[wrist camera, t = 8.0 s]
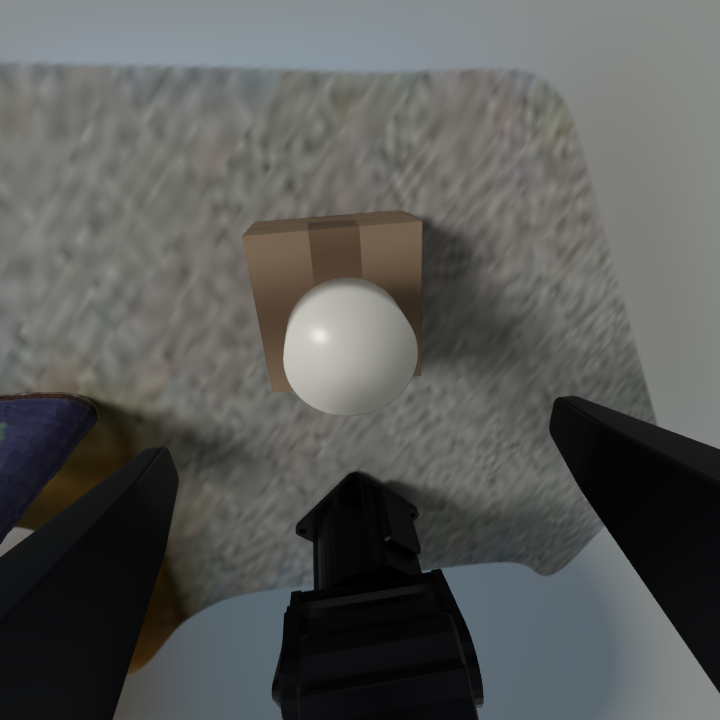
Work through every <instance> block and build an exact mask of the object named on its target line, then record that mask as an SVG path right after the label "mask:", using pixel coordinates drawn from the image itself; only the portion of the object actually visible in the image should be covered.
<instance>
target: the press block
mask: <svg viewBox="0 0 720 720" xmlns="http://www.w3.org/2000/svg"><path fill="white" fill-rule="evenodd" d="M242 238H243V244H244V249H245V254H246V259H247V264H248V269H249V274H250V279H251V285H252V290H253V295H254V300H255V305H256V310H257V315H258V320H259V326H260V331H261V336H262V341H263V346H264V351H265V356H266V362H267V367H268V372H269V377H270V382H271V387H272V392H281V391H290V390H293V388H292V387H291V385H290V383H289V381H288V379H287V376H286V373H285V369H284V362H283V356H284V345H285V338H286V330H287V324H288V320H289V317H290V314H291V312H292V310H293V308H294V306H295V305H296V303H297V302H298V301H299V299H300V298H301V297H302V296H303V295H304V294H305V293H307V292H308V291H309V290H310V289H312V288H313V287H315V286H317V285H319V284H321V283H323V282H325V281H329V280H332V279H337V278H358V279H362V280H366V281H369V282H371V283H374V284H376V285H377V286H379V287H381V288H382V289H384V290H385V291H386V292H387V293H388V294H389V295H390V296H391V297H392V298H393V299H394V301H395V302H396V303H397V305H398V306H399V308H400V310H401V311H402V313H403V314H404V316H405V317H406V319H407V321H408V322H409V324H410V326H411V327H412V329H413V332H414V334H415V337H416V341H417V348H418V356H417V364H416V368H415V371H414V374H413V376H420V375H421V294H422V221H421V220H419V219H417V218H415V217H413V216H411V215H409V214H407V213H405V212H403V211H401V210H399V211H386V212H374V213H362V214H349V215H337V216H325V217H312V218H300V219H287V220H275V221H263V222H255V223H254V224H253V225H252V226H251V227H250V228H249V229H248V230H247V231H246V232H245V233H244V234H243V236H242Z"/></svg>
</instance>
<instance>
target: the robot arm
mask: <svg viewBox="0 0 720 720" xmlns="http://www.w3.org/2000/svg"><path fill="white" fill-rule="evenodd" d="M549 430H550V434H551V436H552V438H553V440H554V442H555V444H556V446H557V447H558V449H559V451H560V453H561V455H562V457H563V458H564V460H565V462H566V464H567V466H568V468H569V470H570V471H571V473H572V475H573V477H574V479H575V481H576V482H577V484H578V486H579V487H580V489H581V491H582V492H583V494H584V495H585V497H586V498H587V500H588V501H589V503H590V504H591V506H592V507H593V509H594V510H595V512H596V513H597V515H598V516H599V518H600V519H601V520H602V522H603V523H604V525H605V526H606V528H607V529H608V531H609V532H610V534H611V535H612V537H613V538H614V539H615V541H616V542H617V544H618V545H619V547H620V548H621V550H622V551H623V552H624V554H625V556H626V557H627V559H628V560H629V561H630V563H631V564H632V566H633V567H634V569H635V570H636V572H637V573H638V575H639V576H640V577H641V579H642V580H643V582H644V583H645V585H646V586H647V588H648V589H649V591H650V592H651V594H652V595H653V597H654V598H655V599H656V601H657V602H658V604H659V605H660V607H661V608H662V610H663V611H664V613H665V614H666V615H667V617H668V618H669V620H670V621H671V623H672V624H673V626H674V627H675V629H676V630H677V632H678V633H679V635H680V636H681V638H682V639H683V640H684V642H685V643H686V645H687V646H688V648H689V649H690V651H691V652H692V654H693V655H694V657H695V658H696V659H697V661H698V662H699V664H700V665H701V667H702V668H703V670H704V671H705V673H706V674H707V676H708V677H709V678H710V680H711V681H712V683H713V684H714V686H715V687H716V689H717V690H718V692H719V693H720V449H717V448H715V447H712V446H709V445H707V444H704V443H701V442H698V441H695V440H693V439H690V438H687V437H685V436H682V435H679V434H677V433H674V432H671V431H669V430H666V429H663V428H661V427H658V426H655V425H652V424H650V423H647V422H644V421H642V420H639V419H636V418H634V417H631V416H628V415H625V414H623V413H620V412H617V411H615V410H612V409H609V408H607V407H604V406H601V405H598V404H596V403H593V402H590V401H588V400H585V399H582V398H579V397H577V396H565V397H559V398H557V399H556V400H555V401H554V404H553V409H552V414H551V419H550V424H549ZM352 480H355V481H352ZM178 484H179V477H178V473H177V470H176V467H175V465H174V462H173V459H172V457H171V454H170V452H169V450H168V448H166V447H164V446H162V447H153V448H147V449H145V450H143V451H142V452H141V453H139V454H138V455H137V456H135V457H134V458H133V459H131V460H130V461H129V462H127V463H126V464H125V465H123V466H122V467H121V468H119V469H118V470H117V471H115V472H114V473H112V474H111V475H110V476H108V477H107V478H106V479H104V480H103V481H102V482H100V483H99V484H98V485H96V486H95V487H94V488H92V489H91V490H90V491H88V492H87V493H86V494H84V495H83V496H82V497H80V498H79V499H78V500H76V501H75V502H74V503H72V504H71V505H70V506H68V507H67V508H65V509H64V510H63V511H61V512H60V513H59V514H57V515H56V516H55V517H53V518H52V519H51V520H49V521H48V522H47V523H45V524H44V525H43V526H41V527H40V528H39V529H37V530H36V531H35V532H33V533H32V534H31V535H29V536H28V537H27V538H25V539H24V540H23V541H21V542H20V543H19V544H17V545H16V546H15V547H13V548H12V549H11V550H9V551H8V552H6V553H5V554H4V555H3V556H1V557H0V720H113V716H114V713H115V710H116V707H117V704H118V700H119V697H120V694H121V691H122V687H123V685H124V681H125V678H126V675H127V672H128V669H129V666H130V662H131V659H132V656H133V653H134V650H135V646H136V643H137V640H138V637H139V634H140V630H141V627H142V624H143V621H144V618H145V614H146V611H147V608H148V605H149V602H150V598H151V595H152V592H153V589H154V586H155V583H156V579H157V576H158V573H159V570H160V567H161V563H162V560H163V557H164V553H165V550H166V545H167V541H168V536H169V531H170V525H171V520H172V515H173V510H174V505H175V500H176V494H177V489H178ZM418 515H419V514H418V511H417V508H416V507H415V506H413V505H411V504H409V503H408V502H407V501H406V500H405V499H403V498H402V497H400V496H398V495H396V494H395V493H393V492H391V491H390V490H388V489H386V488H385V487H383V486H379V485H377V484H375V483H374V482H372V481H370V480H369V479H367V478H365V477H364V476H362V475H360V474H358V473H350V474H348V475H347V476H346V477H345V478H344V479H343V480H342V481H341V482H340V483H339V484H338V485H337V486H336V487H335V488H334V489H333V490H332V491H331V492H330V493H329V494H327V495H326V496H325V497H324V498H323V499H322V500H321V501H320V502H319V503H318V504H317V505H316V506H315V507H314V508H313V509H312V510H311V511H310V512H309V513H308V514H307V515H306V516H305V517H304V518H303V519H302V520H301V521H299V522H298V523H297V525H296V534H297V535H299V536H301V537H303V538H305V539H307V540H309V541H311V542H313V567H314V590H311V591H305V592H301V590H300V591H294V592H291V600H290V606H288V607H287V612H286V613H284V626H283V641H282V648H281V652H280V657H279V661H278V664H277V668H276V672H275V676H274V680H273V684H272V699H273V701H274V702H275V703H276V704H277V706H278V707H279V708H280V709H281V713H282V718H283V720H479V719H478V715H477V710H476V708H479V707H482V706H483V698H484V696H483V685H482V679H481V674H480V669H479V664H478V660H477V656H476V652H475V649H474V645H473V642H472V639H471V636H470V633H469V630H468V628H467V626H466V623H465V621H464V619H463V616H462V614H461V612H460V610H459V608H458V606H457V604H456V601H455V599H454V597H453V595H452V593H451V590H450V588H449V586H448V584H447V582H446V579H445V578H444V575H443V573H442V571H441V569H435V570H431V572H427V573H422V571H421V568H420V564H419V561H418V557H417V556H418V555H419V554H420V553H421V547H420V544H419V541H418V537H417V534H416V530H415V527H414V524H413V521H414V520H415V519H416V518H417V517H418Z"/></svg>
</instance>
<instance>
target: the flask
mask: <svg viewBox="0 0 720 720" xmlns="http://www.w3.org/2000/svg"><path fill="white" fill-rule="evenodd" d="M100 418H102V417H101V416H99V414H98V410H97V408H96V405H95V404H94V403H92V402H91V401H90V400H89V399H88V398H85V397H81V396H79V395H76V394H67V393H58V392H57V393H32V394H31V393H30V394H27V393H22V394H14V395H9V396H6V395H5V396H0V544H1V543H2V541H3V540H4V538H5V537H6V535H7V534H8V533H9V532H10V531H11V530H12V529H13V528H14V526H15V525H16V524H17V522H18V521H20V520H21V519H22V517H23V515H24V513H25V512H26V511H27V509H28V508H29V507H30V505H31V503H32V502H33V501H34V499H35V498H36V497H37V496H38V495H39V494H40V492H41V491H42V489H43V488H44V486H45V485H46V484H47V483H48V482H49V481H50V480H51V479H52V478H53V477H54V476H55V474H56V473H57V472H58V471H59V470H60V469H61V468H62V466H63V464H64V463H65V461H66V460H67V458H68V457H69V455H70V454H71V452H72V451H73V449H74V448H75V447H76V446H77V445H78V443H79V442H80V441H81V440H82V438H83V437H84V436H85V435H86V434H87V433H88V431H89V430H90V429H91V428H92V427H93V426H94V424H96V422H97V420H98V419H100Z"/></svg>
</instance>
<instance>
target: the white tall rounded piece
mask: <svg viewBox="0 0 720 720" xmlns="http://www.w3.org/2000/svg"><path fill="white" fill-rule="evenodd" d="M417 356H418V348H417V341H416V337H415V334H414V332H413V329H412V327H411V326H410V324H409V322H408V321H407V319H406V317H405V316H404V314H403V313H402V311H401V310H400V308H399V306H398V305H397V303H396V302H395V301H394V299H393V298H392V297H391V296H390V295H389V294H388V293H387V292H386V291H385V290H384V289H382V288H381V287H379V286H377V285H376V284H374V283H371V282H369V281H366V280H362V279H358V278H337V279H332V280H329V281H325V282H323V283H321V284H319V285H317V286H315V287H313V288H312V289H310V290H309V291H308V292H307V293H305V294H304V295H303V296H302V297H301V298H300V299H299V301H298V302H297V303H296V305H295V306H294V308H293V310H292V312H291V314H290V317H289V320H288V324H287V330H286V338H285V345H284V356H283V362H284V369H285V373H286V376H287V379H288V381H289V383H290V385H291V387H292V388H293V390H294V391H295V392H296V394H297V395H298V396H299V397H300V398H301V399H302V400H303V401H305V402H306V403H307V404H309V405H310V406H312V407H314V408H316V409H318V410H320V411H323V412H325V413H329V414H333V415H340V416H355V415H361V414H366V413H369V412H373V411H375V410H377V409H380V408H382V407H384V406H385V405H387V404H389V403H390V402H391V401H393V400H394V399H395V398H396V397H397V396H399V395H400V394H401V392H402V391H403V390H404V389H405V388H406V386H407V385H408V383H409V382H410V380H411V378H412V376H413V374H414V371H415V368H416V364H417Z"/></svg>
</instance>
